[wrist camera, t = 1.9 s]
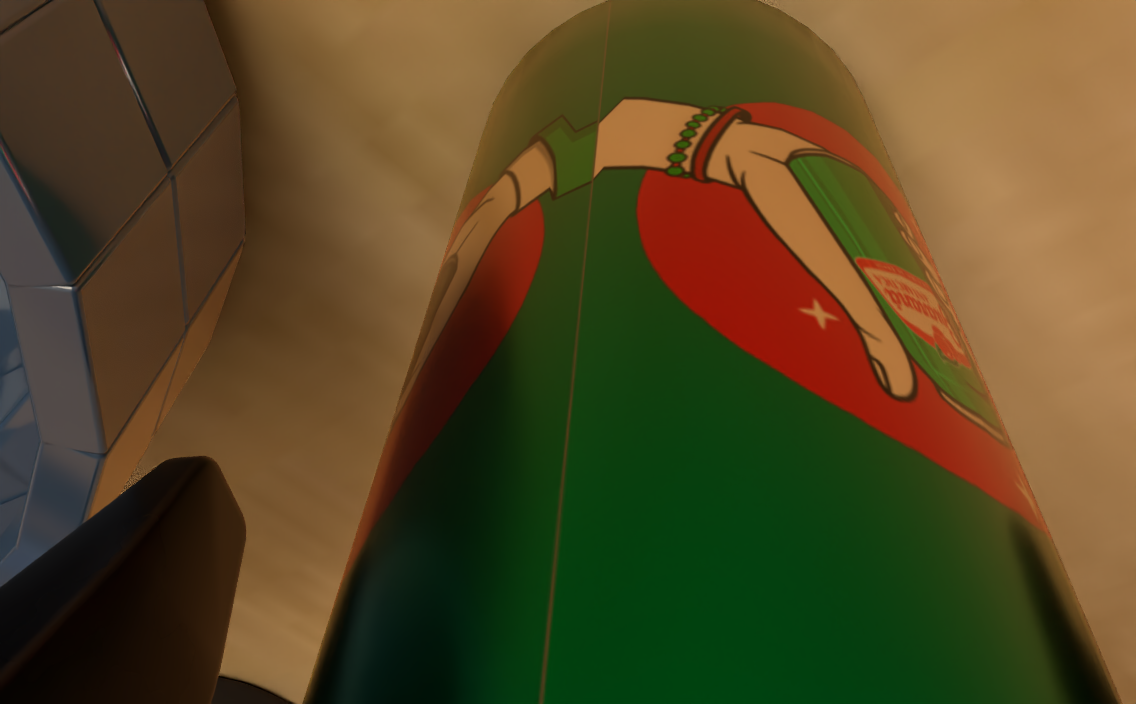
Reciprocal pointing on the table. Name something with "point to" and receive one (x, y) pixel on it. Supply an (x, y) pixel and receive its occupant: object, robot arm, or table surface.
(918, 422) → the soda can
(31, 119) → the bowl
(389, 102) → the table surface
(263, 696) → the drinking cup
